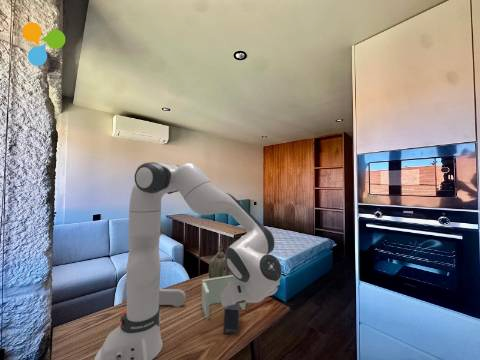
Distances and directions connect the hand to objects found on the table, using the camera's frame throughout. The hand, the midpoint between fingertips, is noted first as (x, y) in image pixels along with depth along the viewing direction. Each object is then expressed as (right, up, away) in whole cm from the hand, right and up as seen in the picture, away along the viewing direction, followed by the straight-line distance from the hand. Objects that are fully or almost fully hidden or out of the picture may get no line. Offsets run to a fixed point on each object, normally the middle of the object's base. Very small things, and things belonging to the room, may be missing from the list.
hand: (244, 299), depth 76 cm
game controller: (-39, -20, +28) cm, 52 cm away
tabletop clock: (-14, -20, +49) cm, 55 cm away
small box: (-5, -20, +14) cm, 25 cm away
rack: (-10, -20, +27) cm, 35 cm away
